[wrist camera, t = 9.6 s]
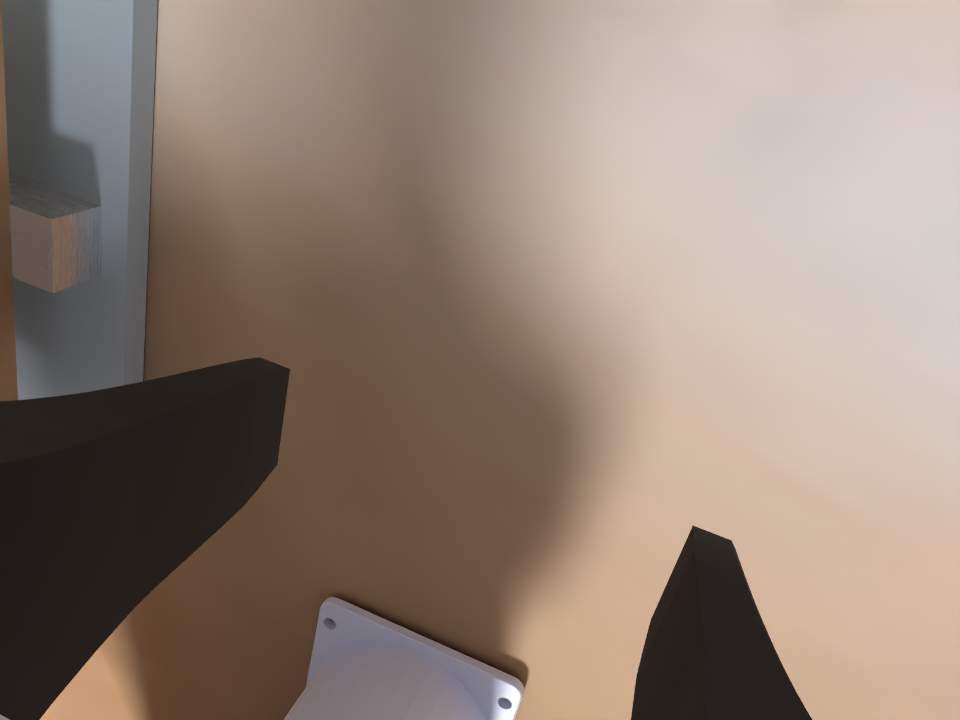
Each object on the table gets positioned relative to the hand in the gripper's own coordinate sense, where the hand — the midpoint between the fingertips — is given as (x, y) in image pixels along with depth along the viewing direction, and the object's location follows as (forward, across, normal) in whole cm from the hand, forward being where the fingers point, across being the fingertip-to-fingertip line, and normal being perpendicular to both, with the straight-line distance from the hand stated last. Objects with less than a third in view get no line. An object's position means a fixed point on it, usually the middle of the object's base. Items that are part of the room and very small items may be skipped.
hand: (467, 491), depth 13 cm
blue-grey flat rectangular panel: (+10, +19, +3) cm, 22 cm away
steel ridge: (+10, +19, +3) cm, 22 cm away
